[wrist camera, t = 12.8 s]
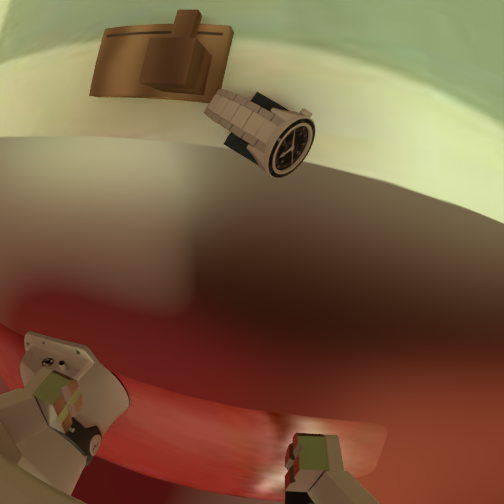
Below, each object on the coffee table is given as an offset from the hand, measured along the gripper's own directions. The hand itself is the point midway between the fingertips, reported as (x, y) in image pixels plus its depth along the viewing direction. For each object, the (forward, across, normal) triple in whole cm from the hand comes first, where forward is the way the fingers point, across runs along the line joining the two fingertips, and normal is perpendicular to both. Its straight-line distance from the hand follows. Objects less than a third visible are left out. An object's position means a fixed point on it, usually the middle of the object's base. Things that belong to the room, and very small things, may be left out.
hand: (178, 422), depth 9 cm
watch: (+23, 0, +11) cm, 26 cm away
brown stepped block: (+21, -8, +17) cm, 28 cm away
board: (+23, -12, +17) cm, 31 cm away
